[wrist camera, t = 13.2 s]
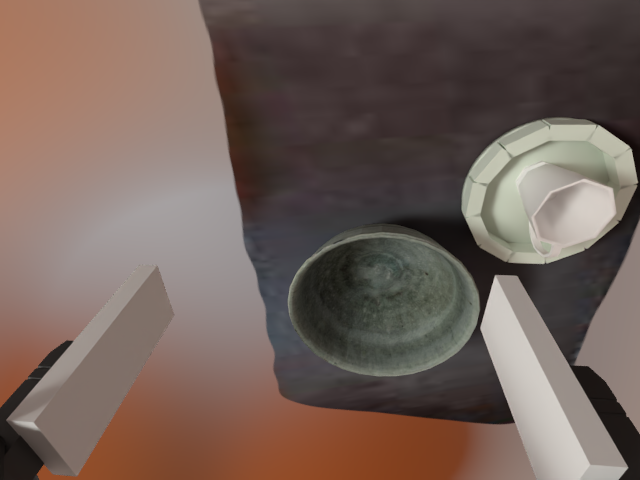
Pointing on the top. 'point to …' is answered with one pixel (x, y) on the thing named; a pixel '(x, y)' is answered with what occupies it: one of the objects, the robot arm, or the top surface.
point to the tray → (528, 148)
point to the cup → (563, 206)
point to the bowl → (383, 301)
